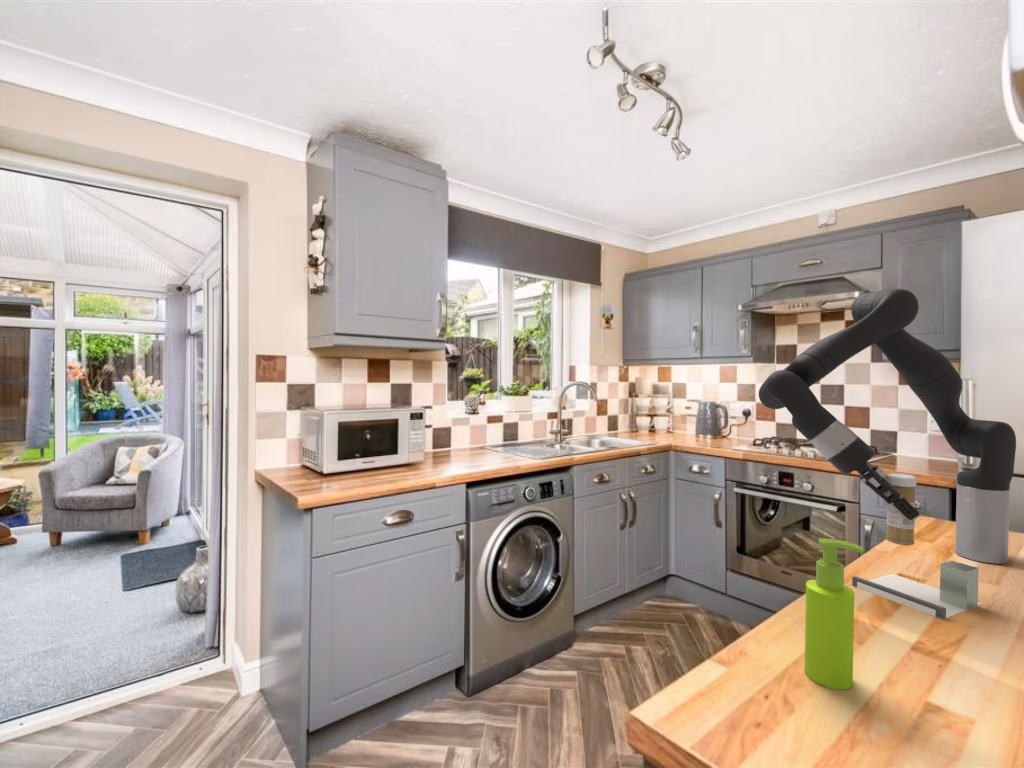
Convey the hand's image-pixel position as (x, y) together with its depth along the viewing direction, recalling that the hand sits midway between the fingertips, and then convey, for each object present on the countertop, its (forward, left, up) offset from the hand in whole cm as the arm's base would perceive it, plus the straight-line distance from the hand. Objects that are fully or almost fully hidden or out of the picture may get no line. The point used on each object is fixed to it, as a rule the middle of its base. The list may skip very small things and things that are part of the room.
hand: (913, 513), depth 96 cm
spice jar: (+1, -2, -6) cm, 7 cm away
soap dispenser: (+40, +9, -17) cm, 44 cm away
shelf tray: (+1, +1, -17) cm, 17 cm away
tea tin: (-2, +6, -15) cm, 17 cm away
